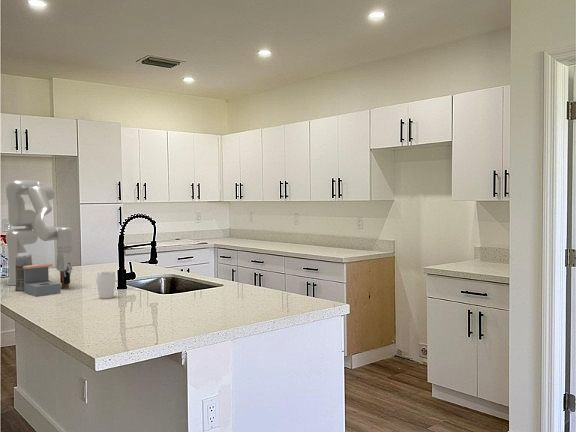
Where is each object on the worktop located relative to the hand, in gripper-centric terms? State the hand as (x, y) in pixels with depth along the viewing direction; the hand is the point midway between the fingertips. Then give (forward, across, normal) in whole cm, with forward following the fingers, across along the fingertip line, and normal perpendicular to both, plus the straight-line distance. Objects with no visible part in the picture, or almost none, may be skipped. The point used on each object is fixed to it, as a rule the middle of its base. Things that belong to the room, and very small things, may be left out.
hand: (65, 283), depth 280 cm
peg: (+3, 0, 0) cm, 3 cm away
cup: (+3, +40, +3) cm, 40 cm away
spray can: (+3, -12, -17) cm, 21 cm away
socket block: (+3, +5, -14) cm, 15 cm away
